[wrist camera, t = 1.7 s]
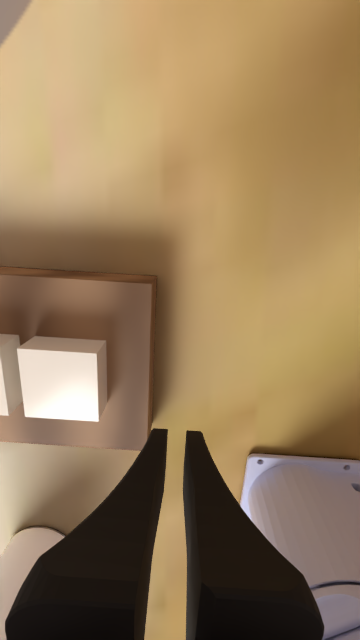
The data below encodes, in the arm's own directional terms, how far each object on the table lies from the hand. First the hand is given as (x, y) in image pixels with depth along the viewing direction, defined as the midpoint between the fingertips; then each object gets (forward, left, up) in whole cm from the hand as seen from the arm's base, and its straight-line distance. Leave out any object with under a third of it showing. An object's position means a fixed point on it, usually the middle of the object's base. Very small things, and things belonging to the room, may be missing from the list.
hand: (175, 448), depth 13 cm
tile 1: (+7, 0, -6) cm, 9 cm away
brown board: (+9, 0, -9) cm, 13 cm away
